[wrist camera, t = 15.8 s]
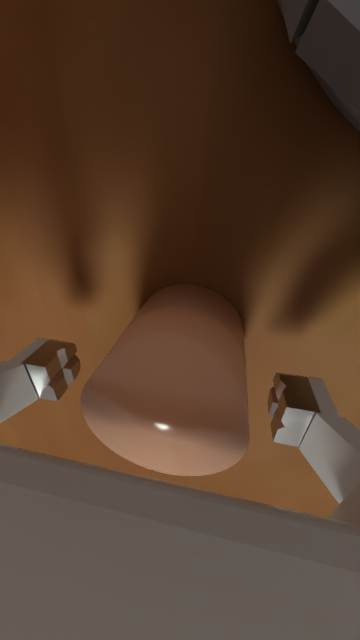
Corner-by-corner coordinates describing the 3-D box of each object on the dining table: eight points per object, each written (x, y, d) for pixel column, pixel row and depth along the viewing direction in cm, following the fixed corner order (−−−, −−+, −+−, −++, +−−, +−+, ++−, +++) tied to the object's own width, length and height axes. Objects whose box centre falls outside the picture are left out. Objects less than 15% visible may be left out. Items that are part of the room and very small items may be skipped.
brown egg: (254, 290, 9) (269, 382, 5) (234, 380, 12) (233, 489, 8) (135, 277, 10) (64, 348, 6) (140, 364, 13) (94, 456, 9)
